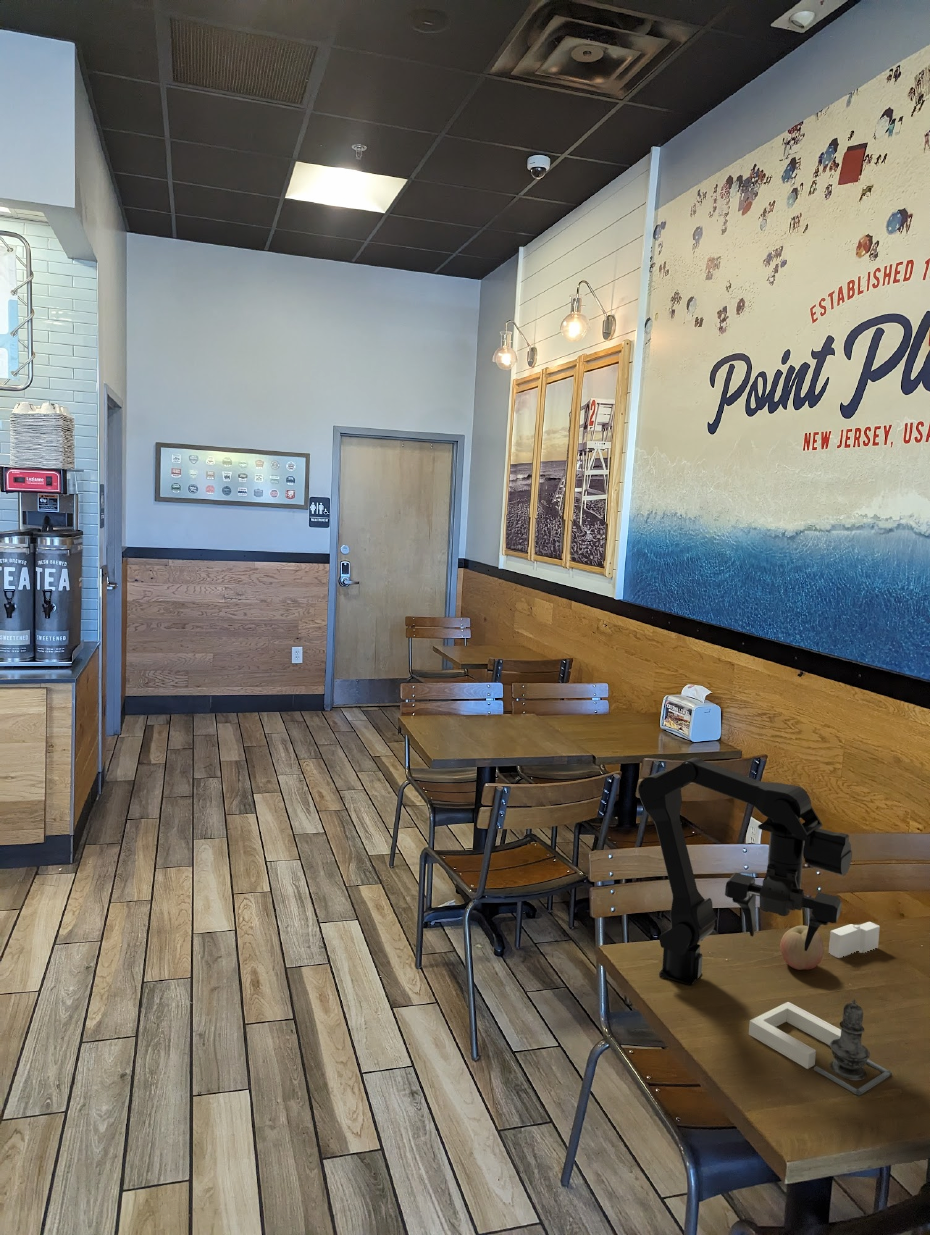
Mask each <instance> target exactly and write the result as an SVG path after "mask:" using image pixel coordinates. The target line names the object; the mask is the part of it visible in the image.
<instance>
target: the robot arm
mask: <svg viewBox="0 0 930 1235" xmlns="http://www.w3.org/2000/svg"><path fill="white" fill-rule="evenodd" d="M691 783H693V784H696V785H699V786H701V787H703V788H706V789H710V790H712V791H715V792H718V793H720V794H723V795H725V796H727V797H730V798H733V799H736V800H739V801H741V802H744V803H746V804H748V805H750V806H752V807H754V808H755V809H756V810H757V811H758V812H759V813H760V814H761V815H763V816H764V817H766V820H764V821H763V822H761V823H760V824H758V826H757V828H758V829H759V830H762V831H765V832H769V841H768V842H769V843H768V856H767V866H766V874H765V876H764V877H763V880H762V885H761V884H756V878H755V876H752V875H747V874H742V873H738V872H734V874H732V875H731V876H730V878H728V880H727V882H726V884H725V891H724V896H725V897H727V898H729V899H731V900H732V902H733V903H735V904H737V905H738V906H739V907H740V909H741V910H742V912H743V915H744V918H745V921H746V925H747V928H748V932H749V936H750V937H754V935H755V931H756V916H757V915H756V913H757V912H756V911H757V910H756V909H757V908H756V906H757V903H756V902H757V901H756V900H757V897H759V909H760V910H761V911H762V912H764V913H773V914H777V915H778V916H780V917H787V916H789V914H790V912H791V911H793V912H794V911H795V910H797V911H802V909H803V908H806V909H810V910H811V916H810V917H809V920H808V926H809V927H808V931H807V936H806V940H805V949H804V950H805V951H807V950H808V948H809V945H810V943H811V941H812V939H813V936H814V934H815V933H816V932H818V930H819V928H820V927H821V926H822V925H823V926H828V925H829V923H830V924H837V922H838V919H839V917H840V915H841V912H842V900H841V898H840V897H839V896H837V895H832V894H827V893H824V892H819V891H818V892H817V893H816V895H815V897H811V896H806V895H805V892H804V889H803V888H801V887H802V886H801V885H802V875H803V874H802V873H803V862H805V864H808V866H809V867H811V868H814V869H818V870H822V871H826V872H829V873H833V874H836V875H840V876H847V873H848V872H849V869H850V867H851V863H852V859H853V858H852V857H853V850H852V846H851V845H852V844H851V843H850V841H849V840H850V835H849V834H848V833H843V832H835V831H832V830H831V831H830V830H829V829H828V830H827V829H823V828H822V827H823V823H822V822H821V820H820V818H819V817H818V814H817V813H816V812H815V810H814V808H813V806H812V802H811V798H810V796H809V794H808V791H806V790H805V789H804V788H803V787H801V786H798V785H793V784H788V783H787V784H786V783H782V782H769V781H767V782H766V781H762V780H761V781H760V780H759V779H755V778H753V777H749V776H748V775H743V774H742V773H738V772H735V771H732V770H729V769H728V768H724V767H722V766H719V765H715V764H714V763H710V762H708V761H706V760H704V759H702V758H701V757H692V758H690V759H686V760H685V761H683V762H682V763H681V764H680V765H678V766H676V767H674V768H673V769H671V770H668V771H667V770H662V771H659V772H657V773H654V774H651V775H649V776H646V777H644V778H643V779H642V780H641V781H640V782H639V785H638V787H637V792H638V797H639V799H640V801H641V804H642V806H643V808H644V811H645V812H646V813H647V815H648V816H649V817H650V819H652V821H653V823H654V825H655V828H656V833H657V836H658V840H659V845H660V849H661V850H660V851H661V853H662V857H663V861H664V864H665V866H664V867H665V870H666V874H667V879H668V882H669V885H670V890H671V894H672V895H671V896H672V901H671V907H670V912H669V913H670V915H669V916H670V926H671V927H670V928H669V929H667V930H665V931H664V932H663V933H661V934H659V936H658V940H659V944H660V947H661V948H662V949H663V952H662V953H663V954H662V967H661V969H660V971H659V973H658V975H659V977H661V978H665V979H668V980H672V981H675V982H677V983H682V984H684V985H687V986H693V985H694V984H695V982H696V981H697V980H698V979H699V978H700V977H701V975H702V971H703V970H702V969H703V953H701V944H699V943H700V942H702V941H704V939H705V938H706V937H707V936H709V935H710V934H712V933H713V931H714V929H715V926H716V922H715V921H716V920H717V918H718V917H717V916H716V914H715V912H714V908H713V900H712V898H710V897H708V898H704V897H703V896H702V895H701V893H700V892H699V889H698V886H697V883H696V879H695V874H694V870H693V867H692V863H691V858H690V854H689V851H688V847H687V842H686V838H685V833H684V830H683V825H682V821H681V818H680V814H681V809H682V801H683V799H682V788H685V787H686V786H689V785H690V784H691ZM801 820H803V821H804V822H801Z"/></svg>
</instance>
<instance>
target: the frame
mask: <svg viewBox="0 0 930 1235" xmlns="http://www.w3.org/2000/svg"><path fill="white" fill-rule="evenodd" d="M866 1064H867V1065H868V1066H870V1067H872V1068H873V1069H876V1070H878V1071H879V1072H880V1074H879V1075H878V1076H876V1077H874V1078H873V1079H871V1080H870V1081H868V1082H866V1083H865V1084H863V1085H862V1086H860V1087H859V1088H855V1087H853V1086H852V1085H850V1084H849V1083H846V1082H845V1081H843V1080H842V1079H840V1078H838V1077H837V1076H834V1075H833V1074H831V1073H830V1072H828V1071H826V1070H824V1069H823V1068H821V1067H819V1066H818V1065H817V1066H813V1067H814V1068H813V1070H814V1071H815V1072H817V1073H819V1074H821V1075H822V1076H824V1077H825V1078H827V1079H829V1080H831V1081H832V1082H834V1083H836V1084H838V1085H839V1086H841V1087H843V1088H845V1089H847V1090H848V1091H849V1092H851V1093H853V1094H855V1095H856V1096H858V1097H860V1096H862V1095H863V1094H864V1093H866V1092H867V1091H869V1090H870V1089H872V1088H874V1087H875V1086H877V1085H878V1084H880V1083H881V1082H883V1081H884V1080H886V1079H887V1078H889V1077H890V1076H892V1074H893V1071H890V1070H888V1069H886V1068H884V1067H883V1066H881V1065H879V1064H877V1063H875V1062H873V1061H872V1060H870V1059H869V1058H868V1059H867V1062H866ZM866 1064H865V1065H866Z"/></svg>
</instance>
